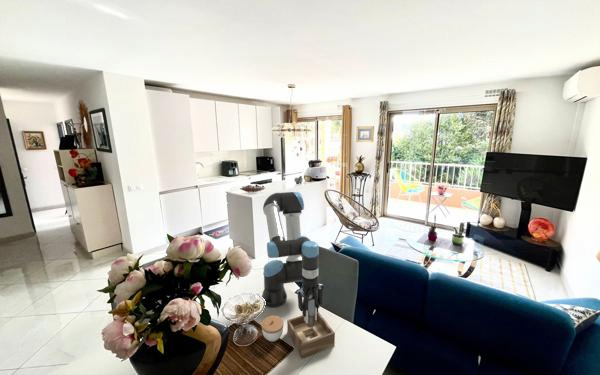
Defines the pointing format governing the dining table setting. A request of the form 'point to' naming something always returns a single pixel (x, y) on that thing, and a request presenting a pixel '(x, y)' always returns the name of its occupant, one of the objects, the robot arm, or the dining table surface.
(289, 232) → the robot arm
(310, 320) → the peg
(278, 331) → the lidded jar
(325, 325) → the box
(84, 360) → the dining table surface
